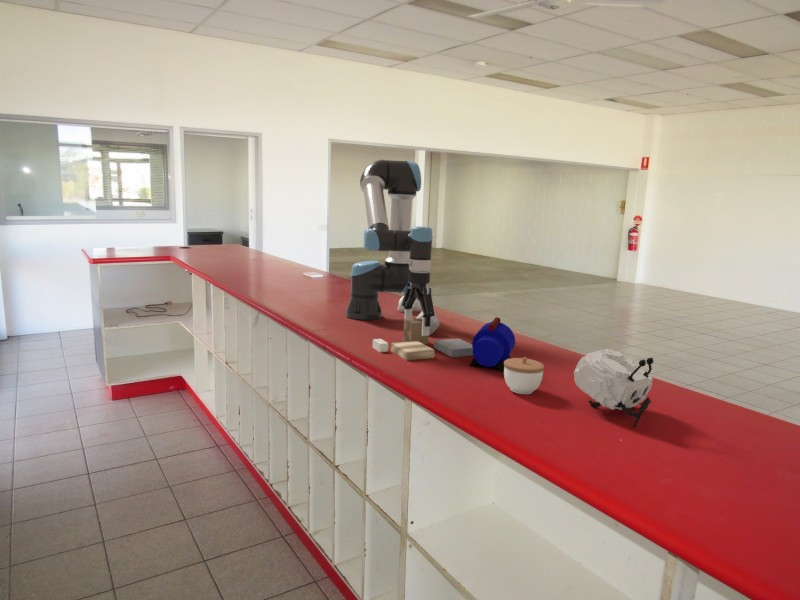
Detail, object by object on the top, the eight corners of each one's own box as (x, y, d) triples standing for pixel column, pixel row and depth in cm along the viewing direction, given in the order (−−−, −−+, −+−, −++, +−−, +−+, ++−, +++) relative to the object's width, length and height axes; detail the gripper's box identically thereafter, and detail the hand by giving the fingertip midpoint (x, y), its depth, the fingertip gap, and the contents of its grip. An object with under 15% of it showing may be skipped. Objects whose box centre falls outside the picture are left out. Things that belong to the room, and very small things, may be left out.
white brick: (372, 347, 191) (372, 339, 190) (380, 347, 192) (380, 338, 192) (379, 352, 186) (379, 343, 185) (387, 351, 187) (388, 343, 186)
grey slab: (433, 348, 195) (434, 340, 194) (458, 346, 199) (459, 338, 198) (451, 358, 184) (452, 349, 184) (477, 356, 188) (477, 347, 188)
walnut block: (403, 341, 201) (404, 319, 200) (420, 339, 204) (421, 318, 203) (410, 345, 196) (411, 322, 195) (428, 343, 199) (429, 321, 198)
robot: (621, 442, 133) (652, 380, 125) (557, 393, 147) (582, 334, 139) (659, 427, 143) (690, 368, 136) (596, 382, 157) (621, 327, 149)
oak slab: (390, 351, 189) (390, 342, 188) (416, 349, 193) (417, 340, 192) (406, 361, 178) (407, 352, 177) (434, 359, 182) (434, 350, 182)
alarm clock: (514, 364, 179) (518, 318, 177) (504, 374, 168) (508, 325, 166) (477, 358, 184) (481, 313, 182) (465, 367, 173) (469, 320, 171)
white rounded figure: (422, 290, 254) (399, 290, 248) (432, 306, 247) (408, 307, 242) (416, 304, 259) (393, 305, 254) (425, 320, 253) (401, 321, 247)
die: (442, 333, 218) (433, 310, 221) (442, 327, 209) (433, 303, 213) (421, 340, 217) (412, 317, 221) (420, 334, 209) (411, 310, 212)
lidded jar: (494, 385, 158) (497, 353, 156) (526, 382, 162) (529, 351, 160) (516, 399, 148) (519, 364, 146) (549, 395, 152) (553, 361, 150)
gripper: (394, 267, 205) (391, 324, 209) (427, 276, 183) (423, 339, 187) (412, 267, 208) (409, 323, 212) (447, 276, 186) (443, 338, 190)
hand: (416, 331), depth 199 cm, fingers open, 13 cm apart
